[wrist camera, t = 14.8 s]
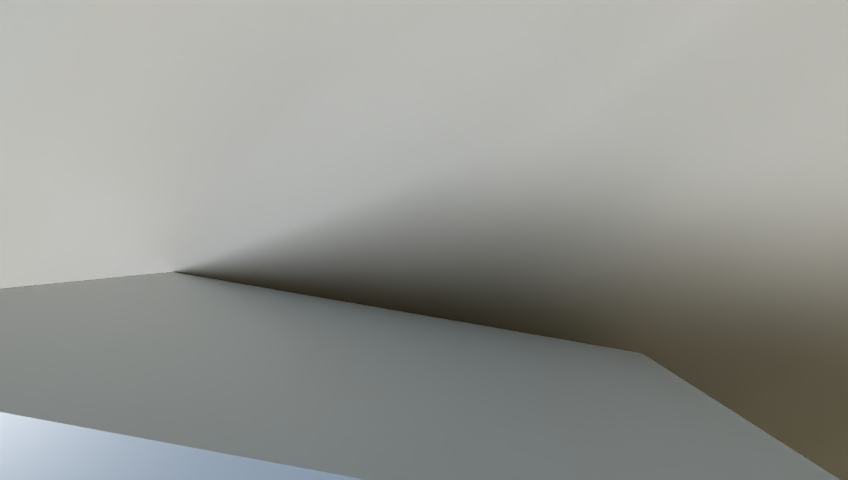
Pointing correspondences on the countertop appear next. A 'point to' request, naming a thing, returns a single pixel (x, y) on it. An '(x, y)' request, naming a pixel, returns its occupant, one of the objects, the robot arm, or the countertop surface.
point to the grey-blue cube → (337, 394)
